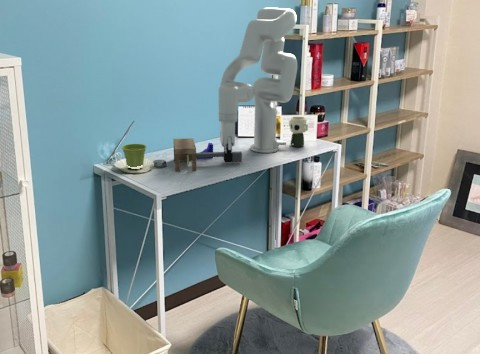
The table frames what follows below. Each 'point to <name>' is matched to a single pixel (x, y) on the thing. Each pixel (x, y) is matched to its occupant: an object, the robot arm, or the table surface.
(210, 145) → the blue shoe
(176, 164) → the brown block with legs
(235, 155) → the scraper
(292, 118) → the character mug
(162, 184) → the table surface
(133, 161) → the plant pot
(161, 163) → the steel token
